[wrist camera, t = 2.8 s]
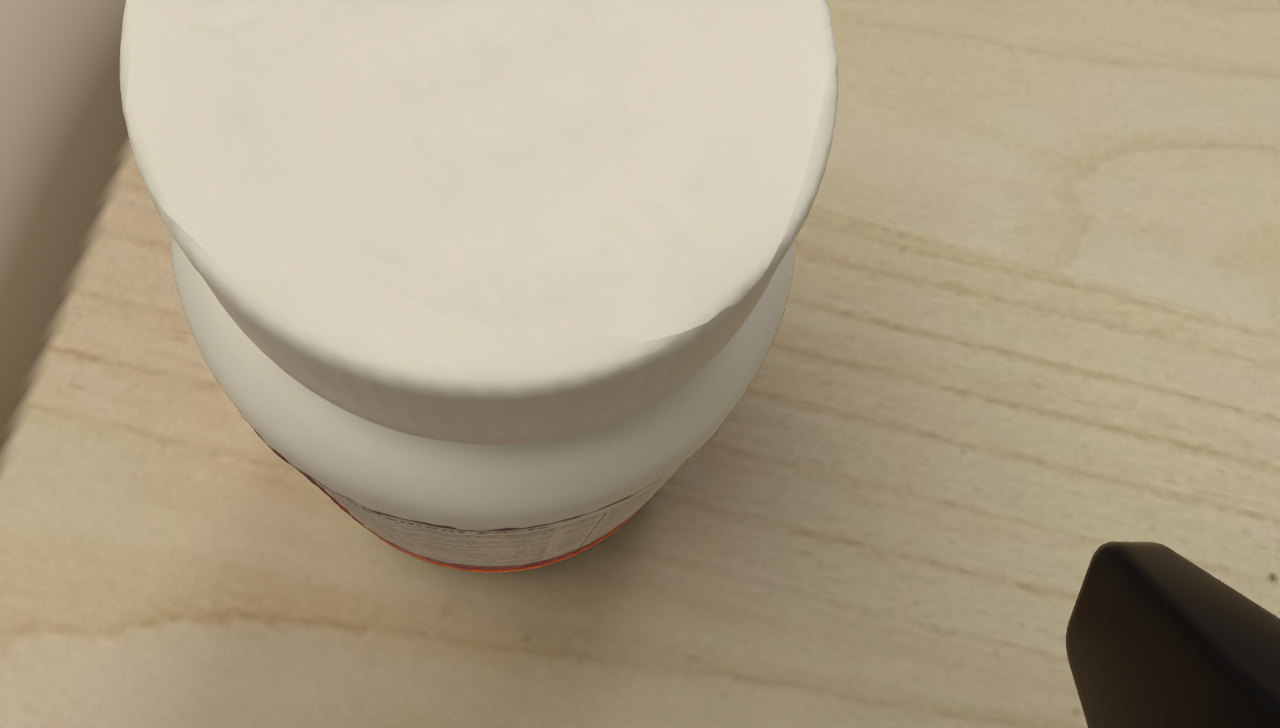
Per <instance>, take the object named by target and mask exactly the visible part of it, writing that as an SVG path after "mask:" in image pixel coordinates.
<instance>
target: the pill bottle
mask: <svg viewBox="0 0 1280 728" xmlns="http://www.w3.org/2000/svg"><path fill="white" fill-rule="evenodd" d="M120 88H121V96H122V105H123V113H124V116H125V120H126V124H127V129H128V134H129V140H130V145H131V147H132V150H133V153H134V156H135V159H136V163H137V166H138V169H139V172H140V174H141V176H142V179H143V181H144V183H145V185H146V188H147V190H148V192H149V194H150V197H151V199H152V201H153V203H154V205H155V207H156V209H157V211H158V212H159V214H160V216H161V218H162V219H163V221H164V223H165V225H166V226H167V228H168V230H169V232H170V246H171V256H172V266H173V271H174V276H175V281H176V285H177V289H178V293H179V296H180V300H181V303H182V307H183V310H184V313H185V316H186V318H187V321H188V323H189V326H190V328H191V331H192V333H193V336H194V338H195V341H196V343H197V345H198V347H199V349H200V351H201V353H202V356H203V358H204V360H205V361H206V363H207V365H208V367H209V368H210V370H211V372H212V374H213V375H214V377H215V379H216V380H217V381H218V383H219V384H220V386H221V387H222V388H223V390H224V391H225V393H226V394H227V396H228V397H229V398H230V400H231V401H232V403H233V404H234V405H235V407H236V408H237V409H238V411H239V412H240V414H241V415H242V417H243V418H244V419H245V420H246V422H247V423H248V424H249V425H250V426H251V427H252V428H253V429H254V431H255V432H256V433H257V434H258V435H259V436H260V438H261V439H262V440H263V441H264V442H265V443H266V444H267V445H268V446H269V447H270V448H271V449H272V450H273V451H274V452H275V453H276V454H277V455H278V456H279V457H281V458H282V459H283V460H284V461H286V462H287V463H289V464H290V465H292V466H293V467H294V468H296V469H297V470H299V471H300V472H301V473H302V474H304V475H305V476H306V477H307V478H308V479H309V480H310V481H311V482H312V483H313V484H315V485H316V486H318V487H319V488H320V489H321V490H322V491H323V492H324V493H325V494H327V495H328V496H329V497H330V498H331V499H332V500H333V501H334V502H335V503H336V504H337V505H338V506H339V507H340V508H341V509H343V510H344V511H345V512H347V513H348V514H349V515H350V516H352V518H353V519H354V520H356V521H357V522H358V523H360V524H361V525H363V526H364V527H365V528H367V529H368V530H370V531H371V532H372V533H374V534H375V535H376V536H378V537H379V538H380V539H382V540H383V541H385V542H386V543H388V544H390V545H391V546H393V547H395V548H397V549H399V550H401V551H403V552H405V553H407V554H409V555H411V556H413V557H416V558H419V559H422V560H424V561H427V562H430V563H433V564H436V565H439V566H443V567H446V568H450V569H456V570H461V571H466V572H481V573H507V572H516V571H524V570H530V569H535V568H539V567H543V566H547V565H550V564H553V563H556V562H559V561H562V560H564V559H567V558H570V557H572V556H575V555H577V554H579V553H581V552H583V551H585V550H587V549H589V548H591V547H592V546H594V545H596V544H597V543H599V542H601V541H602V540H604V539H605V538H607V537H608V536H609V535H611V534H612V533H613V532H615V531H616V530H617V529H619V528H620V527H622V526H623V525H624V524H625V523H626V522H627V521H628V520H629V519H630V518H631V517H632V516H633V515H634V514H636V513H637V512H638V511H639V509H640V508H641V507H642V506H643V505H644V504H645V503H646V502H647V501H648V500H649V499H650V498H651V497H652V496H653V495H654V494H655V493H656V492H657V491H658V490H659V489H660V488H661V487H662V486H663V485H664V484H665V483H666V482H667V481H668V480H669V478H670V477H671V476H672V475H673V474H674V473H675V472H676V471H677V470H678V469H679V468H680V467H681V466H682V465H683V464H684V463H685V462H686V461H687V460H688V459H689V458H690V457H691V456H692V455H693V454H694V453H696V452H697V451H698V450H699V449H700V448H701V447H702V446H703V445H704V444H706V443H707V442H708V441H709V440H710V439H711V438H712V437H713V436H714V435H715V434H716V433H717V431H718V430H719V428H720V427H721V425H722V423H723V422H724V420H725V419H726V417H727V416H728V414H729V413H730V412H731V410H732V409H733V408H734V406H735V405H736V404H737V402H738V401H739V400H740V398H741V397H742V395H743V394H744V393H745V391H746V390H747V389H748V387H749V385H750V384H751V382H752V380H753V379H754V377H755V376H756V374H757V372H758V371H759V369H760V367H761V365H762V363H763V361H764V359H765V357H766V355H767V353H768V351H769V349H770V346H771V344H772V342H773V340H774V338H775V335H776V332H777V330H778V327H779V324H780V321H781V318H782V316H783V313H784V310H785V306H786V302H787V297H788V293H789V289H790V284H791V279H792V272H793V265H794V258H795V242H796V236H797V234H798V232H799V230H800V229H801V227H802V225H803V223H804V221H805V220H806V218H807V216H808V214H809V211H810V209H811V206H812V204H813V202H814V199H815V197H816V194H817V191H818V188H819V186H820V183H821V180H822V177H823V174H824V172H825V168H826V164H827V160H828V156H829V152H830V148H831V143H832V138H833V132H834V126H835V120H836V110H837V98H838V68H837V55H836V47H835V40H834V34H833V28H832V22H831V17H830V11H829V6H828V3H827V0H126V4H125V11H124V17H123V27H122V37H121V49H120Z"/></svg>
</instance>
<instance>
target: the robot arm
mask: <svg viewBox="0 0 1280 728" xmlns="http://www.w3.org/2000/svg"><path fill="white" fill-rule="evenodd" d="M1066 649H1067V656H1068V660H1069V664H1070V668H1071V671H1072V674H1073V678H1074V681H1075V684H1076V688H1077V691H1078V695H1079V698H1080V701H1081V705H1082V708H1083V711H1084V715H1085V718H1086V721H1087V725H1088V728H1280V618H1278V617H1276V616H1275V615H1273V614H1272V613H1270V612H1268V611H1267V610H1265V609H1264V608H1262V607H1261V606H1259V605H1257V604H1256V603H1254V602H1253V601H1251V600H1250V599H1248V598H1246V597H1245V596H1243V595H1242V594H1240V593H1239V592H1237V591H1235V590H1234V589H1232V588H1231V587H1229V586H1228V585H1226V584H1224V583H1223V582H1221V581H1220V580H1218V579H1217V578H1215V577H1213V576H1212V575H1210V574H1209V573H1207V572H1206V571H1204V570H1202V569H1201V568H1199V567H1198V566H1196V565H1195V564H1193V563H1191V562H1190V561H1188V560H1187V559H1185V558H1184V557H1182V556H1180V555H1179V554H1177V553H1176V552H1174V551H1173V550H1171V549H1169V548H1168V547H1166V546H1164V545H1162V544H1159V543H1154V542H1108V543H1106V544H1103V545H1101V546H1100V547H1099V548H1098V549H1097V550H1096V552H1095V553H1094V555H1093V557H1092V559H1091V562H1090V564H1089V567H1088V570H1087V573H1086V575H1085V578H1084V581H1083V584H1082V586H1081V589H1080V592H1079V595H1078V598H1077V600H1076V603H1075V606H1074V609H1073V611H1072V614H1071V617H1070V620H1069V623H1068V627H1067V633H1066Z"/></svg>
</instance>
